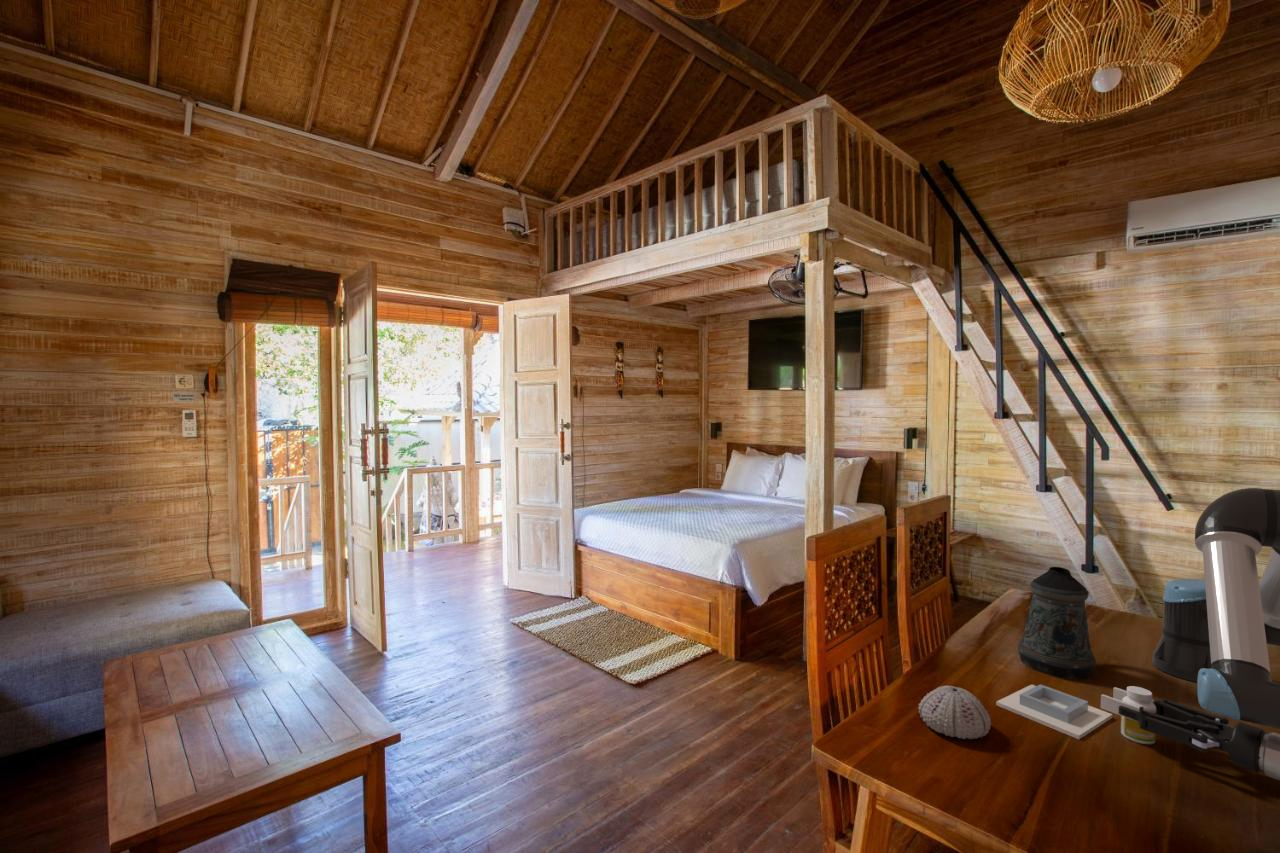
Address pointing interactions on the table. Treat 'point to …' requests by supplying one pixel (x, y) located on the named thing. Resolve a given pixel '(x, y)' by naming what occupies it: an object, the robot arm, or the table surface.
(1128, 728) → the supplement bottle
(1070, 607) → the beer stein
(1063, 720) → the socket
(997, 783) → the table surface
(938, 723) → the sea urchin shell
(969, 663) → the table surface
